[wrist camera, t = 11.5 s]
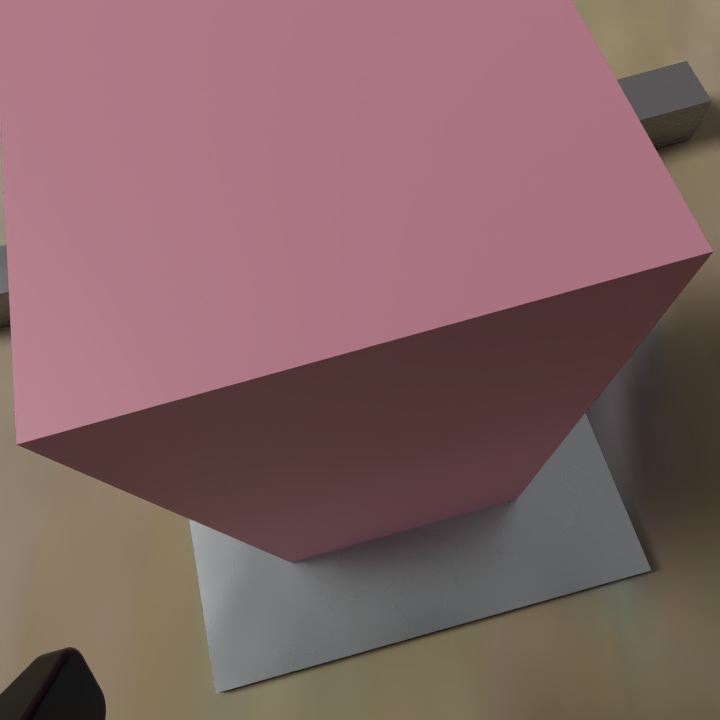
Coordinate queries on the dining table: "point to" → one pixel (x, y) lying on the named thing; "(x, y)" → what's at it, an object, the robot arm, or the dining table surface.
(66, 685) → the robot arm
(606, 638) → the dining table surface
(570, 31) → the carton
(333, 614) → the rail
